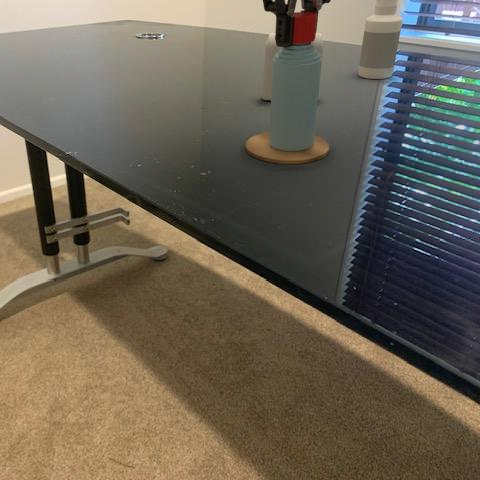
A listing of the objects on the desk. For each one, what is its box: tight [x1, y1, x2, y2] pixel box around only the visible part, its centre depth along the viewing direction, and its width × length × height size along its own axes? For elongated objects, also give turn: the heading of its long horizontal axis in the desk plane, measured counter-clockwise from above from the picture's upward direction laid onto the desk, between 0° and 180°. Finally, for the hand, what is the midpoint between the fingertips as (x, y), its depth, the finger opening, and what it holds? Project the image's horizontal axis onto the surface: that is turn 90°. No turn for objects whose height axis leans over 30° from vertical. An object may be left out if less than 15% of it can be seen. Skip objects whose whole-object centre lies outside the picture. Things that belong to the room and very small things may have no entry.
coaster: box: [244, 131, 330, 165], centre depth 74 cm, size 12×12×1 cm
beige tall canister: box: [357, 0, 403, 80], centre depth 102 cm, size 7×7×18 cm
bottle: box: [269, 42, 323, 151], centre depth 70 cm, size 6×6×17 cm
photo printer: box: [261, 31, 324, 101], centre depth 92 cm, size 10×4×12 cm, turn 78°
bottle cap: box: [292, 11, 318, 44], centre depth 66 cm, size 4×4×3 cm
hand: (295, 43), depth 67 cm, fingers closed on bottle cap, 4 cm apart
